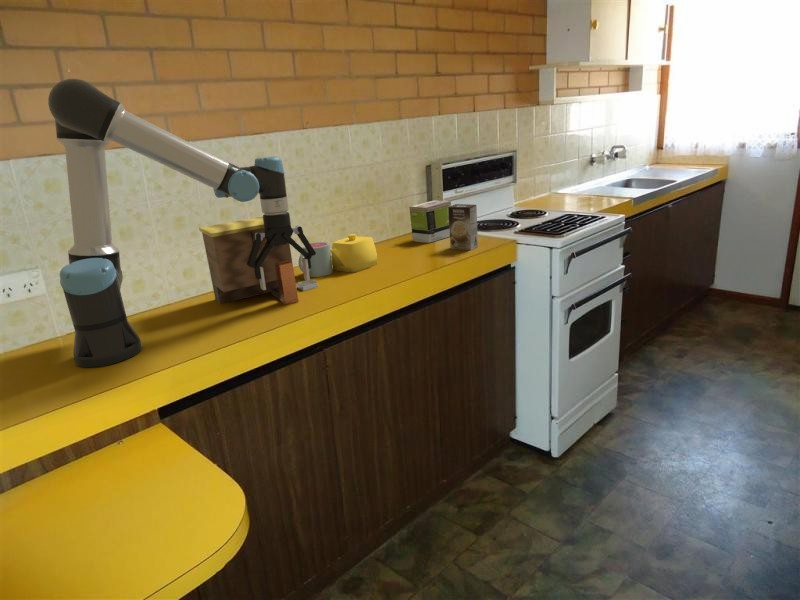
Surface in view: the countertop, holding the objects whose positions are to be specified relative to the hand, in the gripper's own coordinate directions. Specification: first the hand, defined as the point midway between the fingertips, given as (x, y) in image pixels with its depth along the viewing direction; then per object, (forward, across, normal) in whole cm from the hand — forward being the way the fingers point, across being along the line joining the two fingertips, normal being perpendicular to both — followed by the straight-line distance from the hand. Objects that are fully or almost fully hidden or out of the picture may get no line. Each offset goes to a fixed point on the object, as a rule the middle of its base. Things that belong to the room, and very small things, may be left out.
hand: (285, 284), depth 169 cm
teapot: (+5, +32, +21) cm, 39 cm away
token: (+6, +10, +10) cm, 16 cm away
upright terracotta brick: (+5, 0, +5) cm, 8 cm away
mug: (+5, +18, +23) cm, 30 cm away
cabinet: (+6, -6, +15) cm, 17 cm away
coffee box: (+4, +76, +13) cm, 77 cm away
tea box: (+4, +78, +37) cm, 86 cm away
